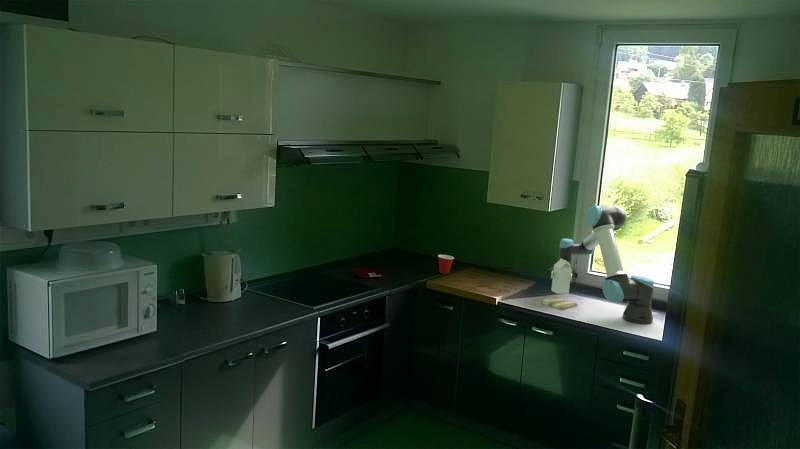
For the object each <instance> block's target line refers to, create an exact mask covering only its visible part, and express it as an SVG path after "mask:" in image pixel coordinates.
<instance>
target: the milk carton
mask: <svg viewBox="0 0 800 449" xmlns="http://www.w3.org/2000/svg"><path fill="white" fill-rule="evenodd" d="M568 264H569V263H568V262H567V261H566V260H563V259H561V258H560V260H559V261H558V260H557V262H556V263H554V264H553V268H554V270H553V277H552V282H551V292H553V293H556V295H565V294H566V295H567V294H570V285H571V280H570V276H571V271H572V267H570V266H569V265H568Z"/></svg>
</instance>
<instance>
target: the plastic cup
mask: <svg viewBox="0 0 800 449" xmlns="http://www.w3.org/2000/svg"><path fill="white" fill-rule="evenodd" d="M437 258H438V265H439V274H440V273H442V274H447V273H449V274H450V270H451V267H452V264H453V261H454V259H455V257H454V256H452V255H448V254H438V255H437ZM442 274H441V275H442Z"/></svg>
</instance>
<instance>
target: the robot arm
mask: <svg viewBox="0 0 800 449" xmlns="http://www.w3.org/2000/svg"><path fill="white" fill-rule="evenodd" d="M626 221H627V214H626V212H625V210H624V209H623V208H622V207H620V206H618V205H592V206H590V207H589V208H588V209H587V211H586V215H585V222H586V223H585V224H586V225H587V226H588V227H590V228H591V229H592V232H591V233H590V234H589V235H588V236H587V237H586V238H584V239H583V240H582V241H580V242H579V241H577V242H575V241H574V240H573V239H571V238H561V240H560V242H559V253H558V259H557V262H558V261H559V260H560V258H561V259H563V260H566V261H567V262H568V263H569V264H568V265H569V266H570V267H571V266H572V258H573V255H574V256H575V255H577V256H579V255H582V256H585V255H586V256H588V255H593V254H594V253H595V250H596V247H597V246H598V245H599V248H600V253H601V256H602V257H601V258H602V260H603V266H604V269H605V272H606V276H605V278H604V280H605V281H604V282H603V283H602V292H603V295H604V297H605V298H606V300H608V301H609V302H612V303H625V302H627V305H626V307H625V308H624V311H623V313H622V318H623V319H624V320H626V321H627V322H631V323H634V324H641V325H643V324H644V325H646V324H647V325H649V324H652V323H653V322H654V315H653V312H652V300H653V293H654V289H655V288H654V285H655V283H654V280H652V279H650V278H647V277H644V276H640V275H631V277H630V279H629V276H628V274H627V273H626V272H624V268H623V265H622V261H621V256H620V253H619V250H618V249H619V248H618V246H617V240H616V237H615V234H614V232H615V231H619V230H620V229H621V228H622V227H623V226H624V225H625V223H626ZM571 268H572V267H571ZM553 270H554V266H550V268H547V269H546V275H549V276H550V279H553ZM578 276H579V273H578V272H577V271H576V269H571V276H570V281H572V279H574V278H575V279H578Z"/></svg>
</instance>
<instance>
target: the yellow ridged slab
mask: <svg viewBox="0 0 800 449" xmlns="http://www.w3.org/2000/svg"><path fill="white" fill-rule="evenodd" d="M540 304H542V305H545V306H548V307H552V308H556V309H559V310H562V311H565V310H569V309H572V308H576V307H578V303H577V302H573V301H571V300H566V299H563V298H559V297H556V296H552V297H550V298H545V299H542V300H540Z"/></svg>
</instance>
